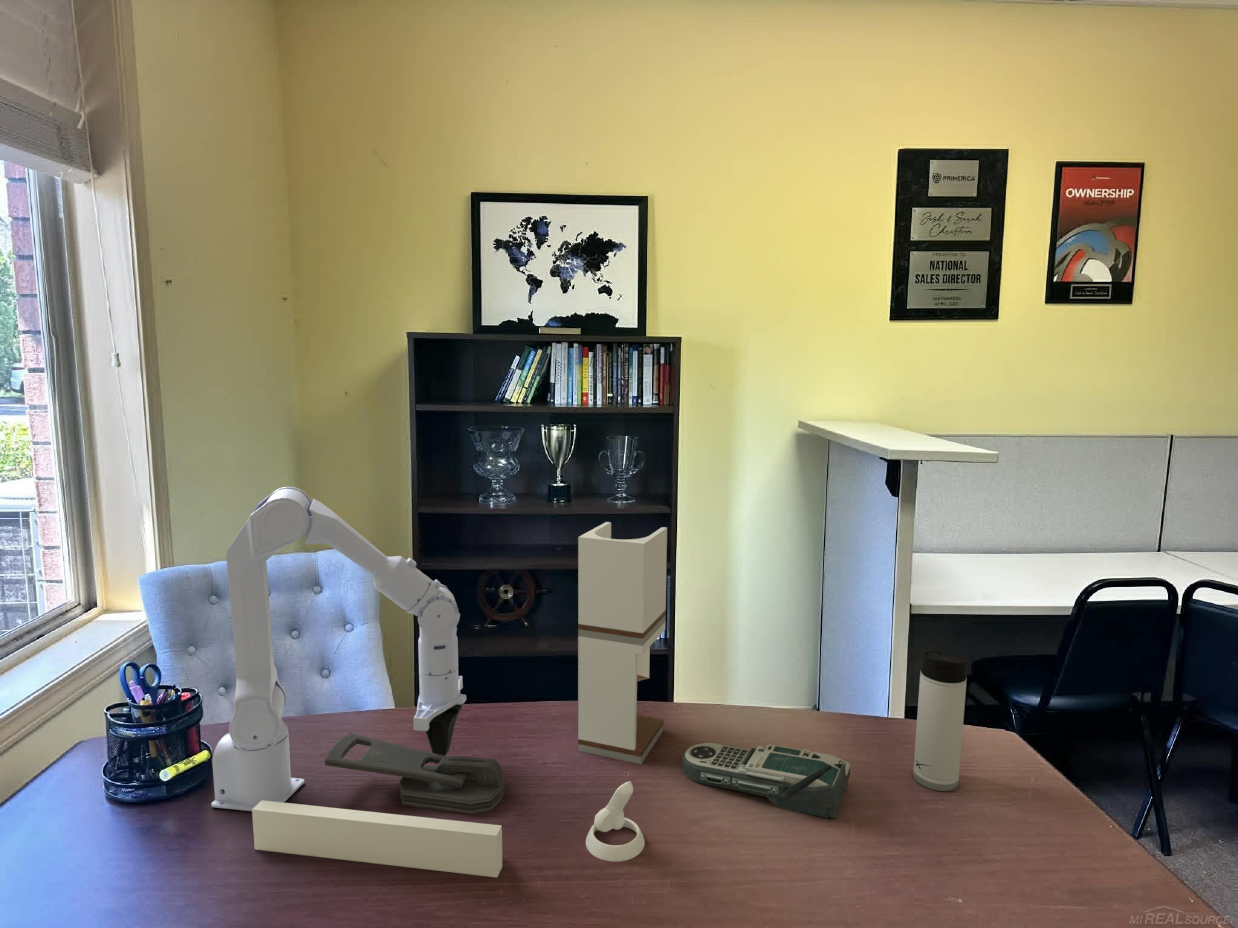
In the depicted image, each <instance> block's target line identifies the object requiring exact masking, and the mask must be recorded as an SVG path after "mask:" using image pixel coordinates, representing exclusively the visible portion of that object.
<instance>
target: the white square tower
mask: <svg viewBox="0 0 1238 928" xmlns="http://www.w3.org/2000/svg"><path fill="white" fill-rule="evenodd" d="M577 538H578V539H577V541H578V542H577V543H578V545H577V547H578V548H577V549H578V551H577V552H578V553H577V557H578V558H577V559H578V560H577V561H578V562H577V563H578V564H577V566H578V567H577V568H578V569H577V570H578V573H577V577H578V578H577V580H578V581H577V582H578V584H577V586H578V587H577V591H578V592H577V593H578V594H577V596H578V597H577V599H578V600H577V601H578V602H577V603H578V607H577V610H578V613H577V615H578V616H577V617H578V620H577V622H578V624H577V627H578V628H577V629H578V631H577V632H578V633H577V635H578V638H577V641H578V642H577V643H578V646H577V648H578V649H577V651H578V652H577V654H578V655H577V658H578V661H577V663H578V665H577V667H578V670H577V673H578V675H577V677H578V678H577V679H578V680H577V682H578V683H577V685H578V687H577V690H578V692H577V693H578V694H577V695H578V697H577V702H578V703H577V706H578V707H577V711H578V713H577V714H578V715H577V721H578V723H577V727H578V729H577V732H578V733H577V736H578V737H577V742H578V743H577V748H578V749H577V751H578V752H580V753H581V752H582V753H586V754H590V755H591V754H592V755H594V756H595V755H596V756H601V757H606V758H609V759H613V760H614V759H615V760H620V761H625V762H629V763H633V764H639V765H642V764H643V762H644V760H645V759H646V758H647V756H648V754H649V753H650V752H651V750H652V748H653V747H654V746H655V744H656V742H657V741H658V739H659V738H660V736H661V735H662V733H664V723H665V722H664V721H665V720H664V718H660V717H655V716H649V715H644V714H639V713H638V712H637V707H638V706H637V705H638V704H637V703H638V701H637V700H638V696H637V695H638V692H637V691H638V682H641V681H643V680H648V679H650V657H651V656H650V653H651V652H650V651H651V650H650V648H651V646H652V645H653V644H654V643H655V642H656V640H658V638H659V637H660V636H661V635H662V633H664V631H666V612H667V611H666V609H667V607H666V606H667V554H668V553H667V550H668V549H667V548H668V527H667V526H666V527H664V526H663V527H662V526H661V527H660V528H659V529H657V530H656V531H654V532H652V533H651V534H650V535H648V536H645V537H640V538H632V539H620V538H619V539H616V538H612V522H610V521H605V522H604V523H603V522H602V524H600V525H598V526H596V527H594V528H593V529H591V530H589V531H587V532H585V533H583V534H581V535H580V536H578V537H577Z"/></svg>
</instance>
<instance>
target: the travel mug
mask: <svg viewBox="0 0 1238 928" xmlns="http://www.w3.org/2000/svg"><path fill="white" fill-rule="evenodd" d="M919 672H920V673H919V685H918V686H919V689H918V701H917V702H918V703H917V716H916V729H915V744H914V745H915V746H914V759H913V761H914V762H913V772H912V773H913V778H914V780H915V781H916V782H917V783H918V784H920V785H921V786H923V787H925V788H927V789H929V790H933V791H937V792H938V791H939V792H951V791H953V790H955V789H957V788H958V787H959V783H960V782H959V781H960V769H961V768H960V767H961V756H962V755H961V754H962V743H963V729H964V719H965V718H964V717H965V704H966V693H967V680H968V679H967V678H968V677H967V673H968V659H967V658H966V657H965V656H963V655H960V654H957V653H952V652H951V653H944V652H938V651H937V650H926V651H923V652H922V654H921V666H920V671H919Z"/></svg>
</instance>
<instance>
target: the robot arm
mask: <svg viewBox="0 0 1238 928" xmlns="http://www.w3.org/2000/svg"><path fill="white" fill-rule="evenodd" d="M303 536H306V537H305V540H304V545H323V544H326V545H328V546H330V547H332V548H333V550H336V551H337V552H338V553H340V554H342V555H343V556H344V557H345V558H347V559H349V560H350V561H352V562H353V563H355V564H357V565H358V566H359V567H360V568H362V569H363V570H365V571H366V572H368V573H369V574H371V575H372V577H373V587H374V589H376V590H377V591H378V592H379V593H381V594H382V595H383V596H385V597H386V598H387V599H388V600H390V601H392V602H393V603H394V604H396V605H397V606H398V607H400V608H401V609H402V610H404V611H405V612H406V613H408V614H411V615H413V616H416V617H417V622H418V626H419V637H418V643H417V644H418V647H417V648H418V650H417V651H418V676H419V677H418V680H419V681H418V682H419V683H418V685H419V695H418V698H417V705H416V707H417V708H416V712H415V715H414V716H413V717H412V718H413V720H412V721H413V723H412V724H413V731H419V732H420V731H421V732H425V734H426V737H427V739H428V742H429V746H430V749H431V753H434V754H439V755H444V756H447V754H448V753H449V751H450V748H451V744H452V737H453V734H454V730H455V729H454V728H455V726H456V721H457V719H458V717H459V714H460V712H461V710H462V708H463V706H462V705H464V704H465V702H466V701H467V695H466V694H462V693H461V690H462V689H463V688H464V686H463V685H464V684H463V675H459V648H458V647H459V644H458V642H459V640H458V636H457V631H458V627H457V625H458V624H459V622H460V617H461V613H460V612H459V607H458V604H457V601H456V599H455V596H454V594H453V593H452V592H451V591H450V590H449V588H448V586H447V585H444V584H442V583H441V582H440V581H439V580H438V579H435V580H433V579H431V578H430V577H429V576H428V575H426V574H425V573H423V572H422V571H421V570H420V569H418V568H417V562H416V561H415V560H414V559H412V558H411V557H408V558H407V559H405V558H404V557H403V556H402V555H396V556H387V555H386V554H384V553H383V552H382V551H381V550H380V549H379V548H377V547H376V546H375V545H374V544H373V543H371V542H370V541H369V540H368V539H367V538H366V537H364V536H363V535H362V534H361V533H359V532H358V531H357V530H356V529H354V528H353V527H352V526H351V525H350V524H349V523H348V522H346V521H345V520H344V519H343V518H342V517H340V516H339V515H338V514H337V513H336V512H334V511H333V510H331V509H330V508H329V507H328V506H326V504H324V503H323V502H322V501H321V502H320V501H319V500H317V499H315V498H311V497H310V495H308V494H307V493H306V492H305V491H304V490H302V489H300V488H298V487H294V486H284V487H280V488H278V489H276V490H274V491H273V492H272V493H270V494H269V495H267V496H266V497H265V498H264V499H262V500H260V502H259V503H258V504H256V507H255V508H254V510H253V511H252V513H251V514H250V515H249V516H248V518H247V519H246V521H245V523H244V524H243V525H242V527H241V529H240V530H239V532H238V533H237V535H236V536H235V537H234V539H233V540H232V542H231V543H230V545H229V547H228V548H227V549H226V557H225V558H226V567H227V568H226V569H227V578H228V579H227V580H228V589H229V591H228V592H229V603H230V604H229V605H230V612H231V613H230V614H231V615H230V616H231V625H232V626H231V627H232V637H233V638H232V639H233V640H232V641H233V649H234V660H235V662H234V663H235V671H236V674H235V675H236V683H235V692H234V713H233V716H232V718H231V719H230V722H229V725H228V733H226V734H224V736H222V738H221V739H220V740H219V741H218V742H217V744H216V747H215V748H214V751H213V755H212V756H213V757H212V773H213V774H212V775H213V787H214V788H213V789H214V800H213V801H212V802H211V803H210V804H211V807H212V808H219V809H227V810H236V811H237V810H238V811H247V812H252V809H253V808H254V807H255V806H256V805H257V804H258V803H259V802H261V801H262V800H263V801H273V802H282V803H286V801H287V800H288V799H289V798H290V797H291V796H293V795H294V794H295V792H296V791H297V790H299V788H300V787H301V786H302V785H304V783H305V779H304V778H297V777H292V775H291V774H292V773H291V772H292V771H291V758H290V757H291V753H290V739H289V738H290V737H289V726H287V724H286V723H285V721H284V720H283V718H282V715H283V713H284V712H283V711H284V708H285V706H286V702H287V694H286V690H285V688H284V686H283V685H282V684H281V683H280V680H279V676H278V670H277V668H276V666H275V658H274V657H275V656H274V645H273V632H272V619H271V606H270V605H271V604H270V593H269V581H268V570H267V569H268V567H267V562H268V560H269V559H271V558H272V556H273V555H275V553H277V552H278V550H281V549H282V548H284V547H285V548H286V547H287V546H290V545H292V544H293V543H295V542H297V541H299V540H300V539H302V537H303Z"/></svg>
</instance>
